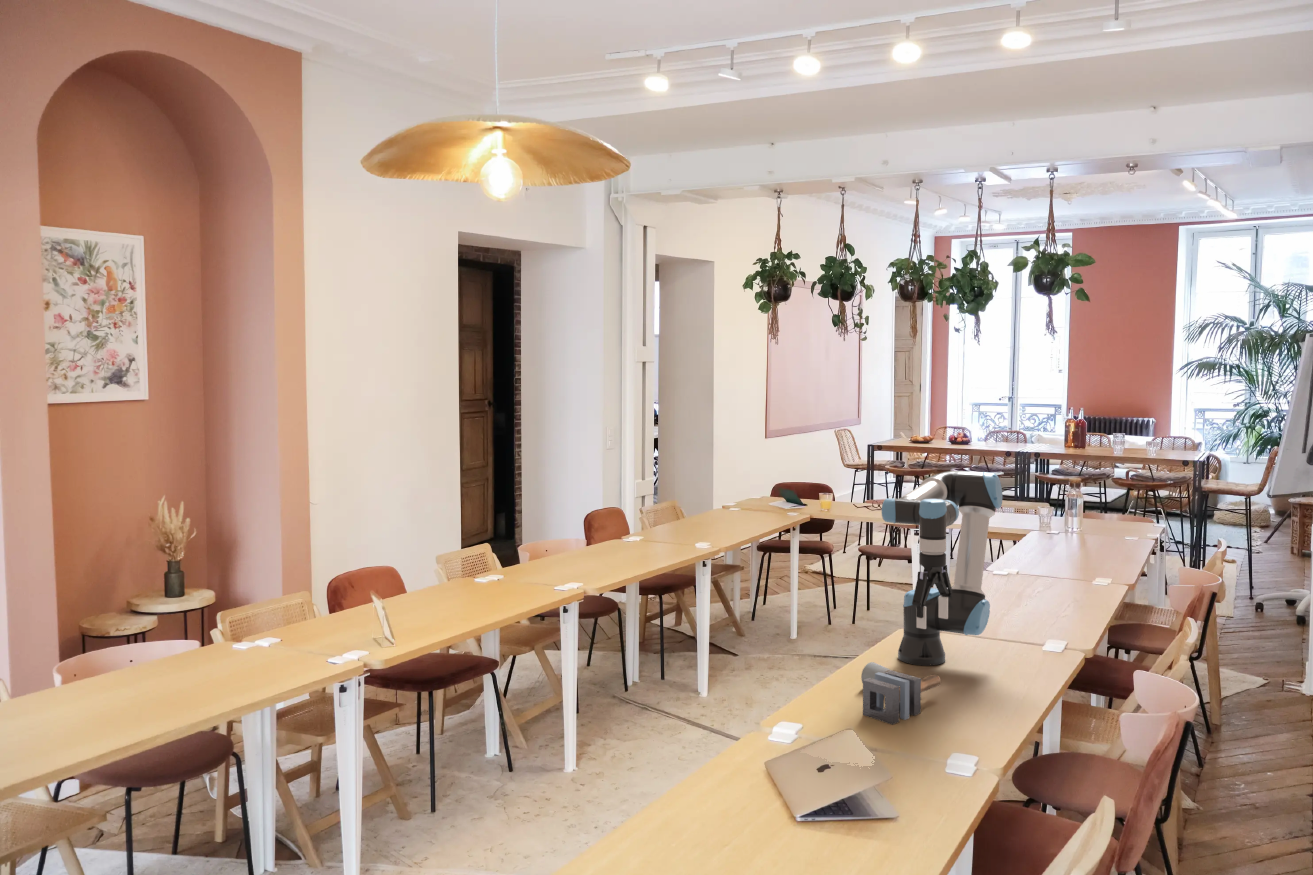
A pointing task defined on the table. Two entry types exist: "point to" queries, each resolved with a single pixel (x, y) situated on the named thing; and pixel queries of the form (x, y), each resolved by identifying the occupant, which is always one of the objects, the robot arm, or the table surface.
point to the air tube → (928, 683)
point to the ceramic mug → (872, 670)
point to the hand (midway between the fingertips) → (932, 623)
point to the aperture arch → (903, 693)
